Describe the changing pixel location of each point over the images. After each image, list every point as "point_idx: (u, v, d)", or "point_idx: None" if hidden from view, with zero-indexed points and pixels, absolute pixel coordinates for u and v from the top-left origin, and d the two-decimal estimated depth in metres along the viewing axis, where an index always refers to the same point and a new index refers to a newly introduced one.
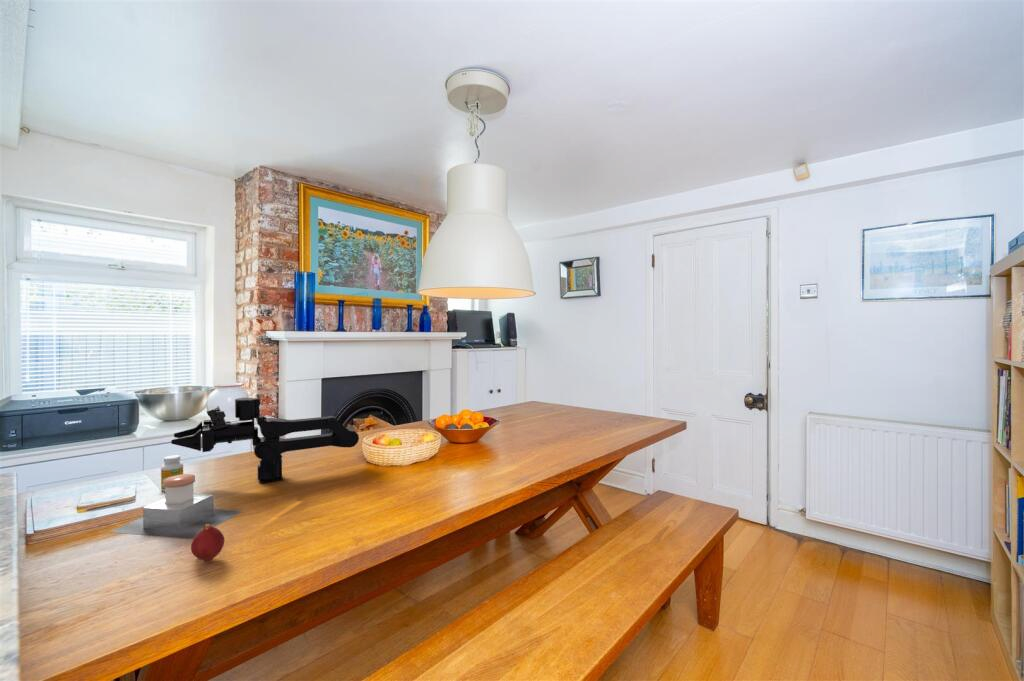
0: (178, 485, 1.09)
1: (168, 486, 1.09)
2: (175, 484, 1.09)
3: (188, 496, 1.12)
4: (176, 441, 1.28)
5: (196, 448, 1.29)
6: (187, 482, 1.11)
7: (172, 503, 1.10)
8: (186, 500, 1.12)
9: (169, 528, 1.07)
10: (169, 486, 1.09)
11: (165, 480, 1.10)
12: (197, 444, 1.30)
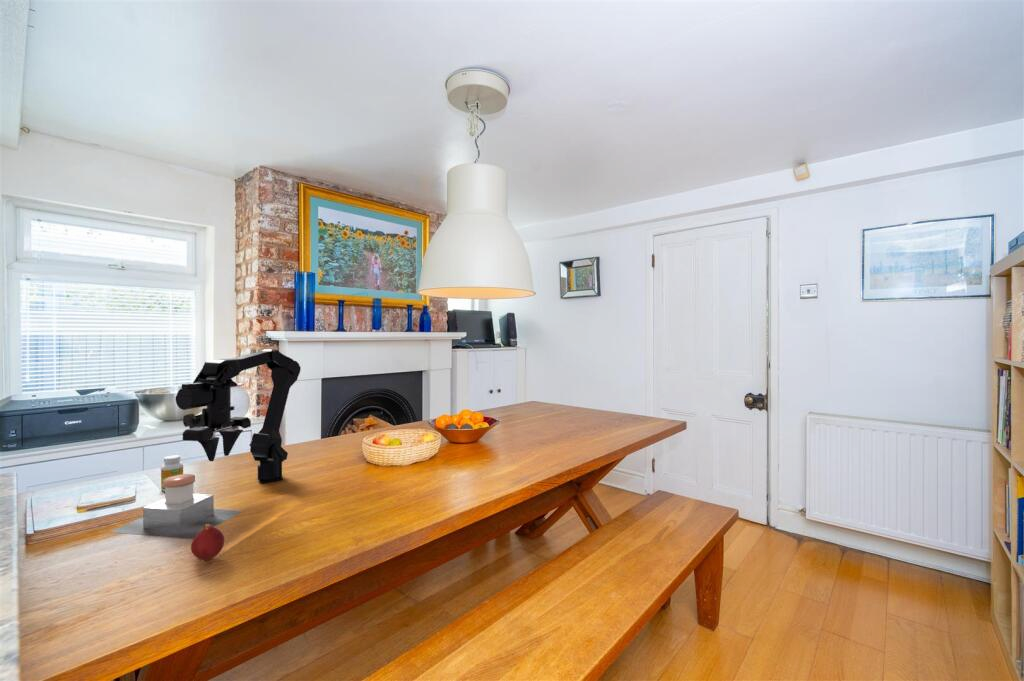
0: (178, 485, 1.09)
1: (168, 486, 1.09)
2: (175, 484, 1.09)
3: (188, 496, 1.12)
4: (209, 457, 1.25)
5: (212, 442, 1.23)
6: (187, 482, 1.11)
7: (172, 503, 1.10)
8: (186, 500, 1.12)
9: (169, 528, 1.07)
10: (169, 486, 1.09)
11: (165, 480, 1.10)
12: None
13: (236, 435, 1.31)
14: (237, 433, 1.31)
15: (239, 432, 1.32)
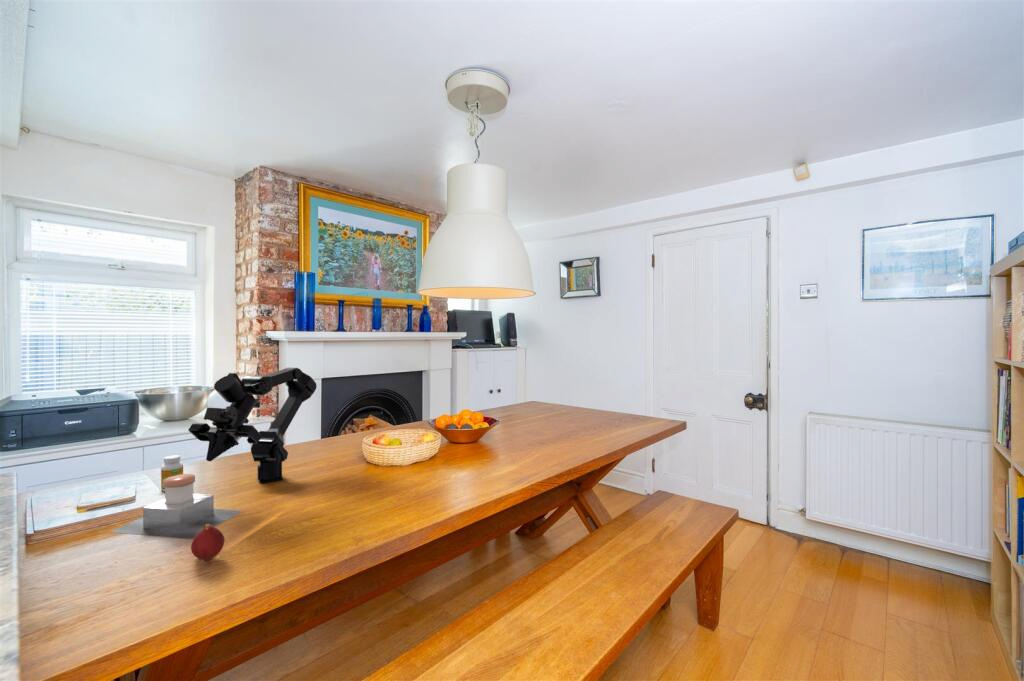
0: (178, 485, 1.09)
1: (168, 486, 1.09)
2: (175, 484, 1.09)
3: (188, 496, 1.12)
4: (213, 456, 1.21)
5: (232, 445, 1.26)
6: (187, 482, 1.11)
7: (172, 503, 1.10)
8: (186, 500, 1.12)
9: (169, 528, 1.07)
10: (169, 486, 1.09)
11: (165, 480, 1.10)
12: (229, 443, 1.25)
13: None
14: None
15: None
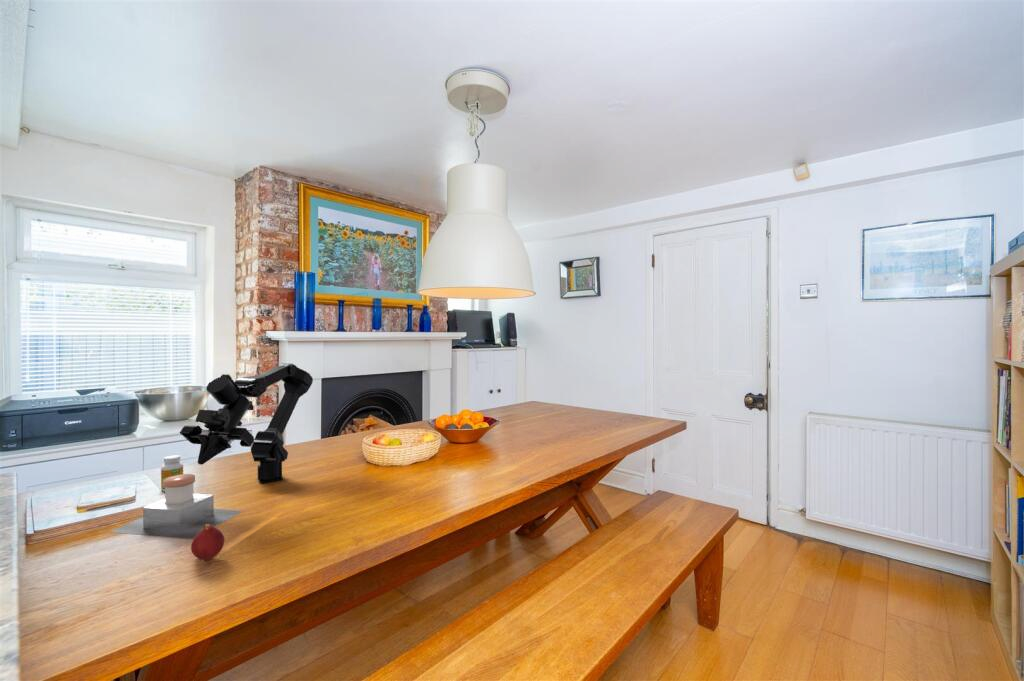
0: (178, 485, 1.09)
1: (168, 486, 1.09)
2: (175, 484, 1.09)
3: (188, 496, 1.12)
4: (204, 459, 1.19)
5: (224, 448, 1.23)
6: (187, 482, 1.11)
7: (172, 503, 1.10)
8: (186, 500, 1.12)
9: (169, 528, 1.07)
10: (169, 486, 1.09)
11: (165, 480, 1.10)
12: (221, 446, 1.23)
13: None
14: None
15: None
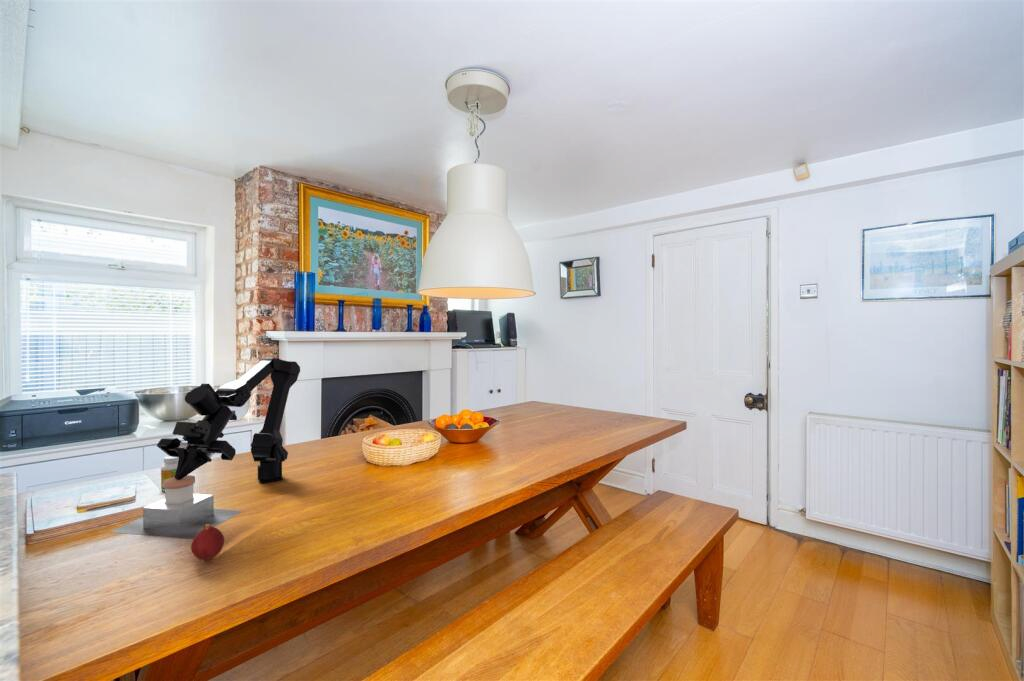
0: (178, 486, 1.09)
1: (168, 487, 1.09)
2: (175, 485, 1.09)
3: (188, 498, 1.12)
4: (182, 474, 1.12)
5: (204, 462, 1.17)
6: (187, 483, 1.11)
7: (172, 504, 1.10)
8: (186, 501, 1.12)
9: (169, 528, 1.07)
10: (169, 487, 1.09)
11: (165, 481, 1.10)
12: (201, 459, 1.16)
13: None
14: None
15: None
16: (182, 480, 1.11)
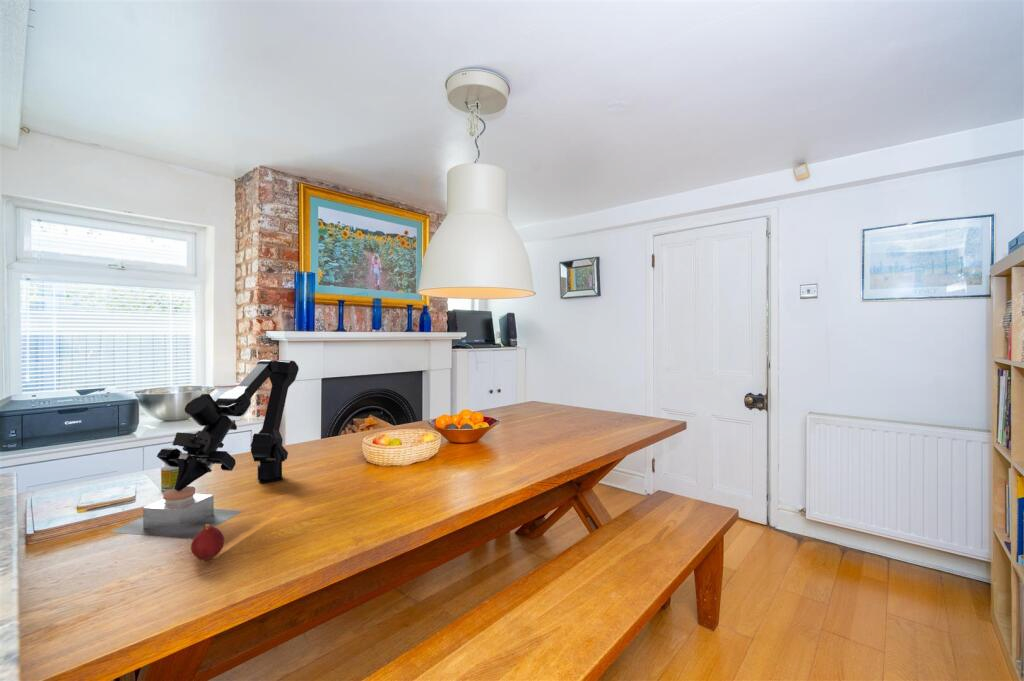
0: (178, 498, 1.09)
1: (168, 499, 1.09)
2: (175, 497, 1.09)
3: None
4: (182, 485, 1.12)
5: (204, 473, 1.17)
6: (187, 495, 1.11)
7: None
8: None
9: (169, 528, 1.07)
10: (169, 499, 1.09)
11: (165, 493, 1.10)
12: (201, 470, 1.16)
13: None
14: None
15: None
16: (182, 491, 1.11)
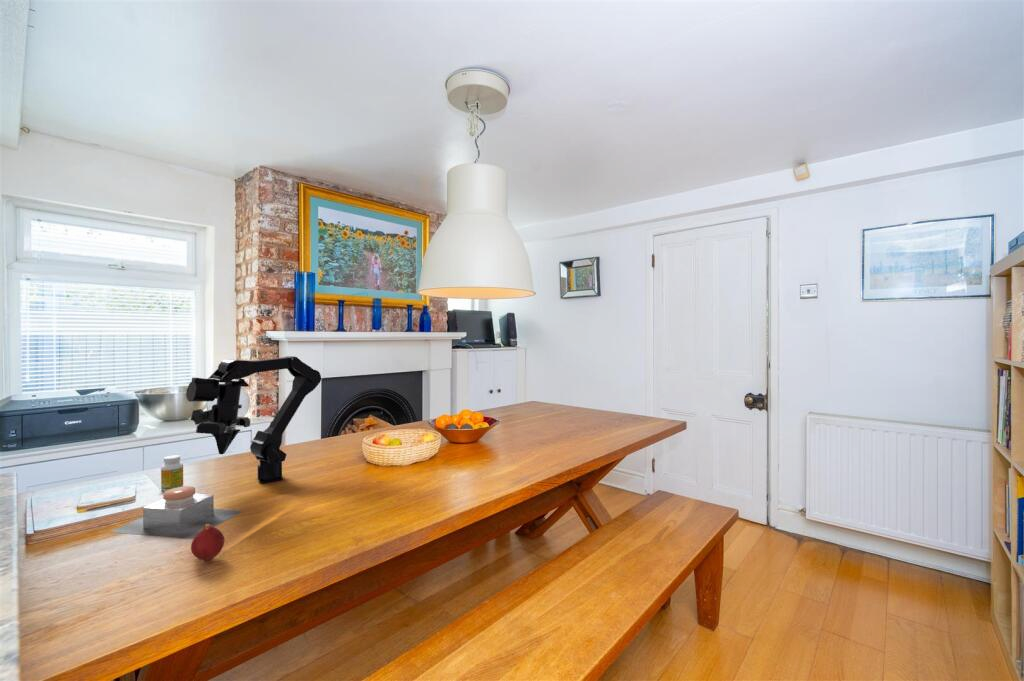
0: (178, 498, 1.09)
1: (168, 499, 1.09)
2: (175, 497, 1.09)
3: None
4: (220, 450, 1.33)
5: (228, 435, 1.32)
6: (187, 495, 1.11)
7: None
8: None
9: (169, 528, 1.07)
10: (169, 499, 1.09)
11: (165, 493, 1.10)
12: (225, 434, 1.32)
13: (235, 434, 1.35)
14: (236, 432, 1.35)
15: (237, 431, 1.36)
16: (182, 491, 1.11)
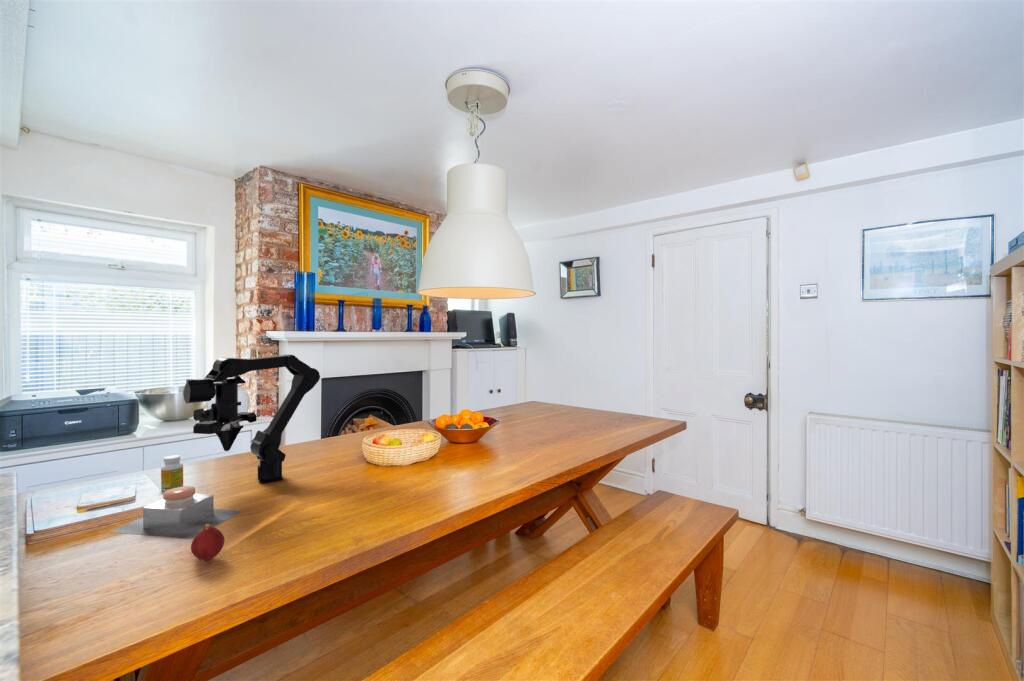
0: (178, 498, 1.09)
1: (168, 499, 1.09)
2: (175, 497, 1.09)
3: None
4: (224, 447, 1.35)
5: (228, 433, 1.33)
6: (187, 495, 1.11)
7: None
8: None
9: (169, 528, 1.07)
10: (169, 499, 1.09)
11: (165, 493, 1.10)
12: None
13: (237, 431, 1.36)
14: (238, 429, 1.36)
15: (240, 428, 1.37)
16: (182, 491, 1.11)
